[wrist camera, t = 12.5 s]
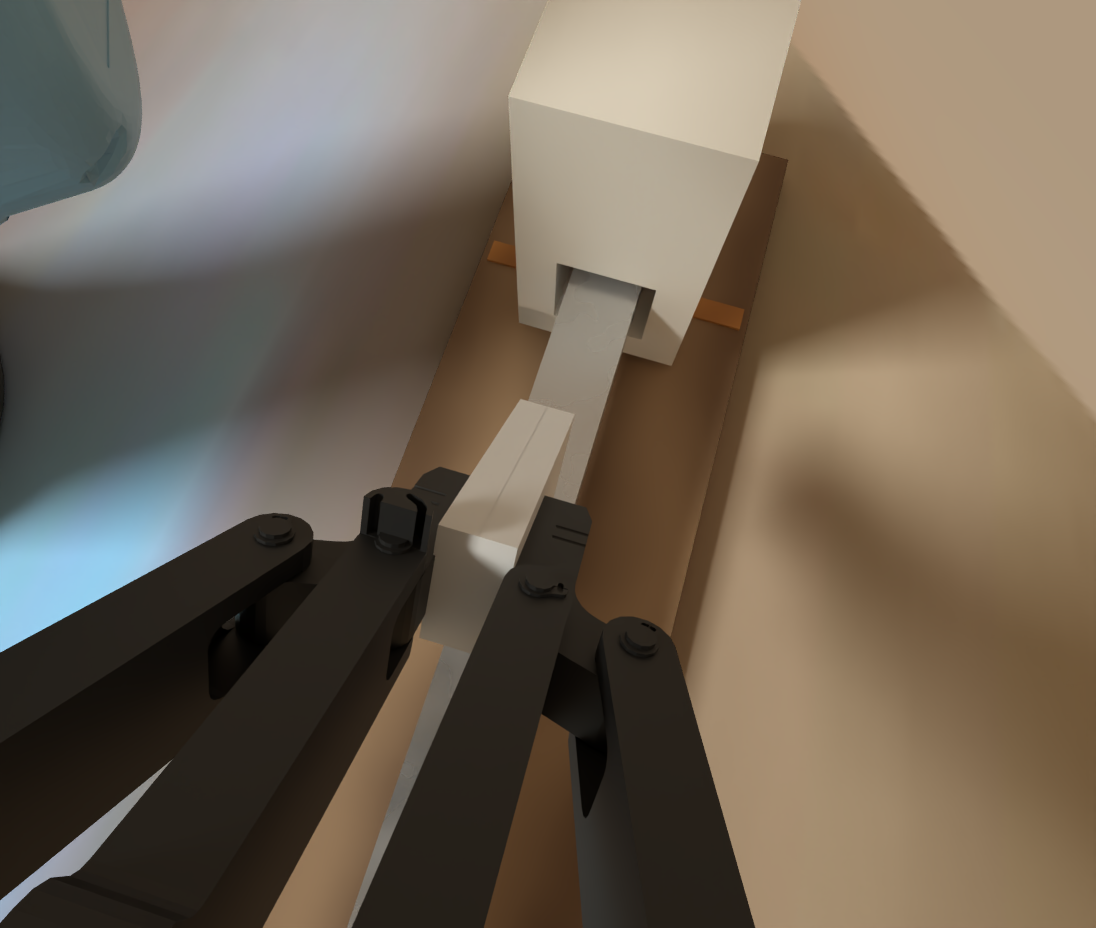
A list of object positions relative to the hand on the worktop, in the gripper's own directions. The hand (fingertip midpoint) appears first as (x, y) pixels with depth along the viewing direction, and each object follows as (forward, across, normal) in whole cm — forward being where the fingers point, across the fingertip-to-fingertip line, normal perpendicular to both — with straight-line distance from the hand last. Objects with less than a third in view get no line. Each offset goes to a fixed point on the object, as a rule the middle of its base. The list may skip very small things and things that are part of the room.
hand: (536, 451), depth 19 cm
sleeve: (+13, 0, +2) cm, 14 cm away
